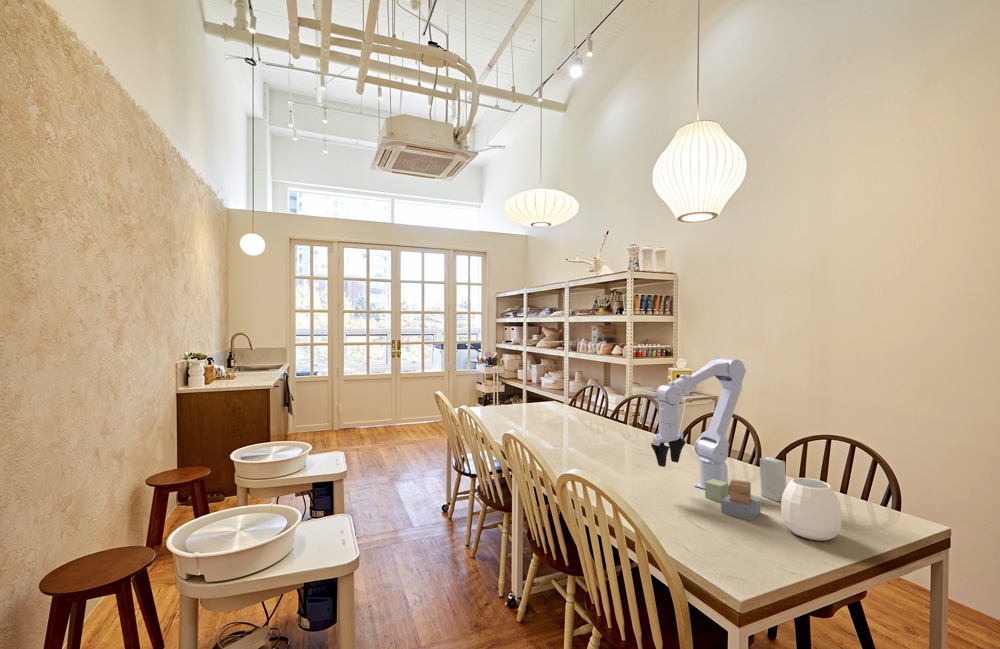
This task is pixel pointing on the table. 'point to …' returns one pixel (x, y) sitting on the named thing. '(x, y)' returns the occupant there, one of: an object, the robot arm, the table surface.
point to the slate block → (741, 508)
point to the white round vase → (811, 509)
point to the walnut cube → (740, 491)
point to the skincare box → (772, 478)
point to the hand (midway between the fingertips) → (668, 464)
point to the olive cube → (716, 489)
